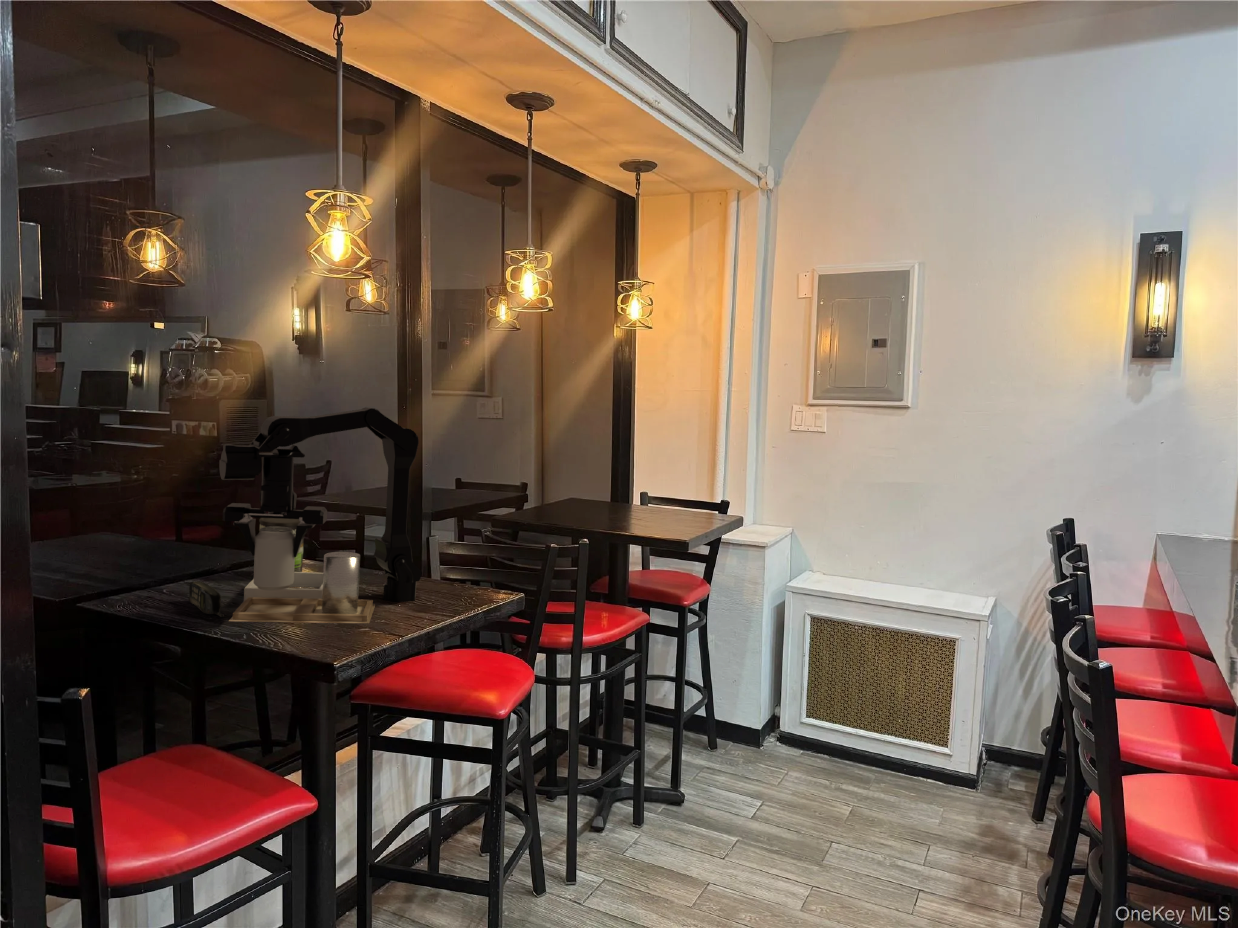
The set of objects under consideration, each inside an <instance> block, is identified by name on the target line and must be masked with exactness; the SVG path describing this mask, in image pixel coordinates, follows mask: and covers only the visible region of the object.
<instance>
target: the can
mask: <svg viewBox="0 0 1238 928" xmlns="http://www.w3.org/2000/svg"><path fill="white" fill-rule="evenodd" d="M258 531H259V532H258V533H257V534H255V555H254V556H253V557H254V558H253V559H254V562H253V564H254V565H253V579H254V584H255V585H256V586H257V587H258V588H259V589H262V590H283V589H287V588H290V587H289V586H290V585H292V584H293V583H294V565H295V557H294V544H295V535H294V534H293V533H292V529H291V528H288V527H263V528H260V527H259V529H258Z"/></svg>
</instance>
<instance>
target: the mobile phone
mask: <svg viewBox="0 0 1238 928" xmlns="http://www.w3.org/2000/svg"><path fill="white" fill-rule="evenodd" d="M188 590H189V593H188V602H189V603H191V604H192V605H193V604H194V605H193V606H195V607H196V608H198V609H199V610H200V611H201V612H202V613H203V614H205V615H216V616H218V617H220V618H224V617H225V615H224V614H223V613H222V612H221V608H222V607H221V605H222V597H221V594H220V593H219V591H218V590H217V589H216V588H214V587H212V586H211V585H210V584H208V583H206V582H204V581H190V582H189V589H188Z"/></svg>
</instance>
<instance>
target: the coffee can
mask: <svg viewBox="0 0 1238 928" xmlns="http://www.w3.org/2000/svg"><path fill="white" fill-rule="evenodd" d="M258 522H259V529H260V528H263V527H288V528H291V529H292V533H293V534H294V535H295V536H296V528H297V525H298V524H299V523H300V521H299V519H281V518H258ZM304 541H305V538H304V539H303V541H302V544H301V546H300V549H299V552H298V554H297V556H296V557H295V565H294V572H303V561H304Z"/></svg>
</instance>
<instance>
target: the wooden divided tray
mask: <svg viewBox="0 0 1238 928" xmlns="http://www.w3.org/2000/svg"><path fill="white" fill-rule="evenodd" d="M375 606H376V603H374V600H373V599H358V612H357V614H322V599H311V598H264V597H248V598H247V599H246V600H245V601H244V600H243V602H242V603H241V604H240V605H239V606H238V607H237V608H236V609H235V611H233V613H232V617H231V618H230V619H229V620H228V622H248V623H249V622H251V623H252V622H253V623H255V622H256V623H262V622H263V623H267V622H268V623H311V624H312V623H315V624H316V623H319V624H321V623H323V624H324V623H327V624H370V622H371V619H372V616H373V613H374V610H375Z"/></svg>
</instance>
